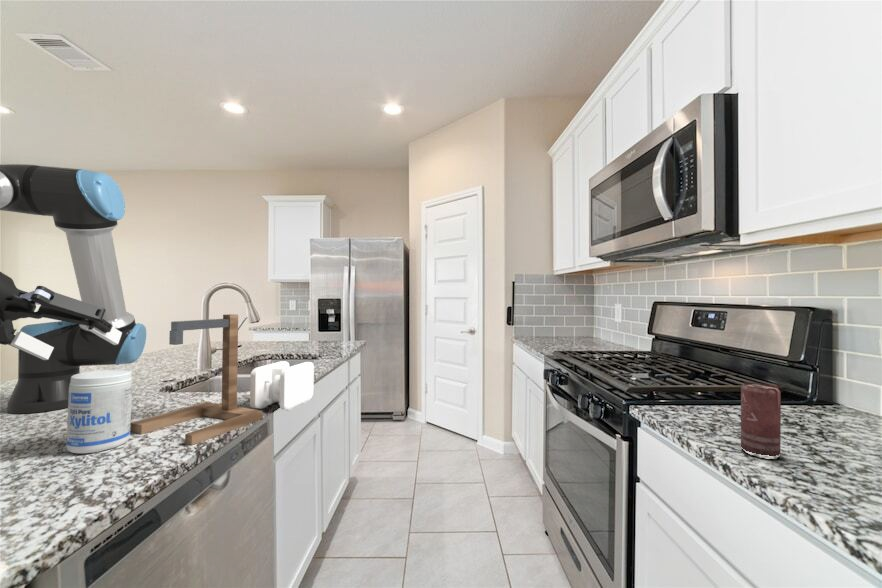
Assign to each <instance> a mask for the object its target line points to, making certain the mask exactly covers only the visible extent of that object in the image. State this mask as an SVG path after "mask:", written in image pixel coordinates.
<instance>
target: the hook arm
mask: <svg viewBox="0 0 882 588" xmlns="http://www.w3.org/2000/svg"><path fill="white" fill-rule="evenodd" d="M223 327H229V319H223V318H216V319H215V318H212V319H211V318H209V319H195V320H194V319H193V320H192V319H191V320H176V321H171V322H170V330H169V338H168V339H169V345H173V346H177V345H184V331H193V330H194V331H195V330H207V329H220V328H222V329H223Z"/></svg>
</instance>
